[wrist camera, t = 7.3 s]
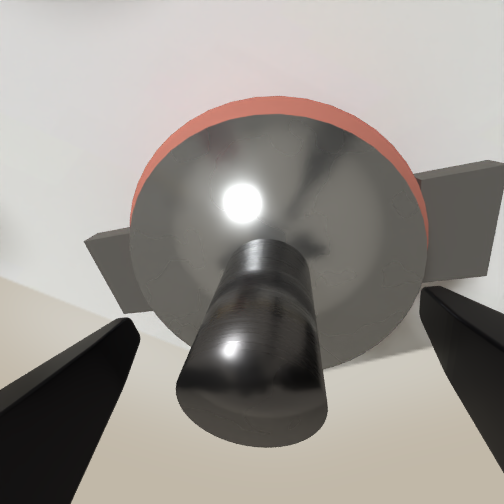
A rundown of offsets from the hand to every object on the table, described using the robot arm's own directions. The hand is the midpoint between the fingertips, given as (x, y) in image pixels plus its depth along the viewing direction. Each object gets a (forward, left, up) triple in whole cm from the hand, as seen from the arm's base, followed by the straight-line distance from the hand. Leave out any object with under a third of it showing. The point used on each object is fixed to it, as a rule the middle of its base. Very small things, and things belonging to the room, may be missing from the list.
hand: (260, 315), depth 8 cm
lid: (0, 0, -3) cm, 3 cm away
